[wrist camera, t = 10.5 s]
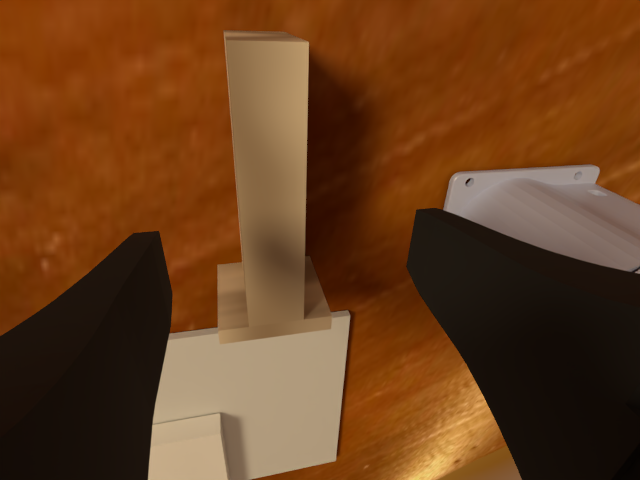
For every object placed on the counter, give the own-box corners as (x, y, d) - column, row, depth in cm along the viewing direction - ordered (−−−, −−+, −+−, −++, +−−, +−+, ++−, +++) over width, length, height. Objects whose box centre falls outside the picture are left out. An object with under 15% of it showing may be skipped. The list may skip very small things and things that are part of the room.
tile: (220, 433, 24) (230, 498, 28) (220, 411, 26) (229, 476, 30) (98, 456, 23) (128, 521, 27) (105, 431, 24) (132, 497, 28)
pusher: (315, 32, 16) (350, 43, 12) (309, 267, 22) (331, 329, 18) (188, 29, 15) (178, 39, 11) (219, 276, 21) (219, 344, 17)
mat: (348, 310, 24) (350, 315, 24) (334, 455, 33) (335, 460, 32) (-67, 364, 20) (-73, 372, 19) (39, 518, 28) (37, 525, 27)
